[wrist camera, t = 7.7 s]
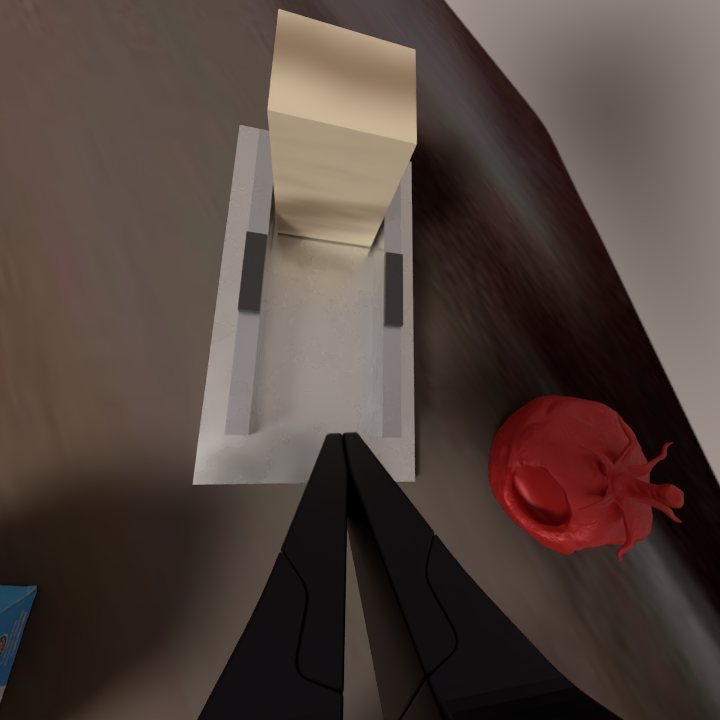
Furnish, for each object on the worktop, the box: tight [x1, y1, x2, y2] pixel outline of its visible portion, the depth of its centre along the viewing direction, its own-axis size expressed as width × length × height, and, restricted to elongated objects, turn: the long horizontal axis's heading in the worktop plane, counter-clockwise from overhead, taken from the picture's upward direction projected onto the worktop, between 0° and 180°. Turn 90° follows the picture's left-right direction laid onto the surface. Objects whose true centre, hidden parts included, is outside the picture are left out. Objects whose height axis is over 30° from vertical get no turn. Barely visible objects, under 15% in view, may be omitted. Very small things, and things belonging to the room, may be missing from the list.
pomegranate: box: [488, 395, 684, 562], centre depth 19 cm, size 10×10×9 cm
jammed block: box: [268, 9, 417, 247], centre depth 19 cm, size 6×7×9 cm
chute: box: [193, 125, 415, 485], centre depth 21 cm, size 26×14×4 cm, turn 179°
